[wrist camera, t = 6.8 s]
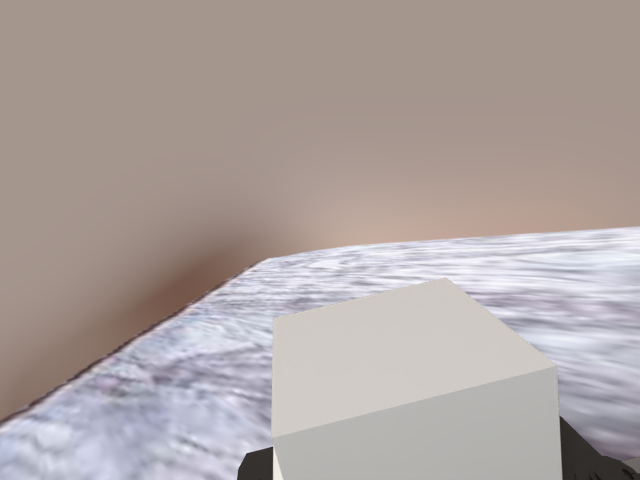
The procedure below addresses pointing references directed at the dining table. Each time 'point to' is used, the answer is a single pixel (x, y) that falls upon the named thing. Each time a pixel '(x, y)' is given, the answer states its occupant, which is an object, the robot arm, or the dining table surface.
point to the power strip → (633, 463)
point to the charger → (411, 392)
